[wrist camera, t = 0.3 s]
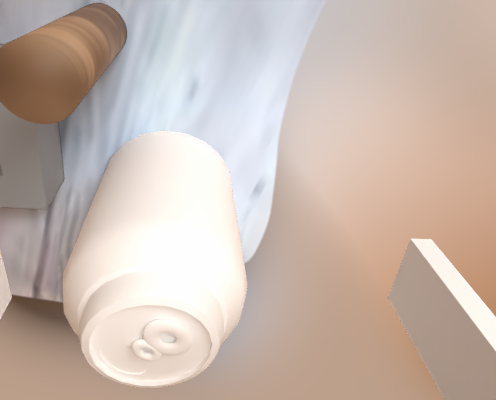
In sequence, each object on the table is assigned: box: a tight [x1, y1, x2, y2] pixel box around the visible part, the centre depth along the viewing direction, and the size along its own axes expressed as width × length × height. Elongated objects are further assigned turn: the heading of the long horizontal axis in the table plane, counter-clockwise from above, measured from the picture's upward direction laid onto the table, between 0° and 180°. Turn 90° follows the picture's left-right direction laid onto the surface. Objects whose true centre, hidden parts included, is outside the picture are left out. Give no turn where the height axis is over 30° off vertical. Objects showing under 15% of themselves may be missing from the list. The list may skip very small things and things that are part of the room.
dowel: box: [0, 3, 127, 124], centre depth 26 cm, size 4×4×16 cm
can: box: [63, 131, 248, 388], centre depth 32 cm, size 12×12×20 cm
